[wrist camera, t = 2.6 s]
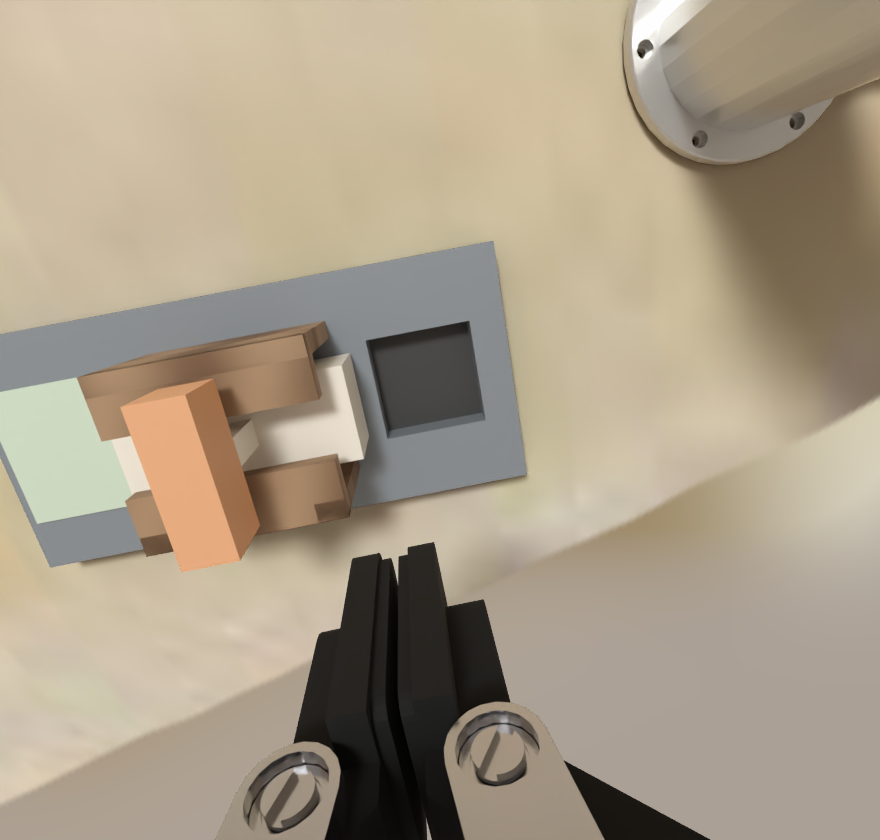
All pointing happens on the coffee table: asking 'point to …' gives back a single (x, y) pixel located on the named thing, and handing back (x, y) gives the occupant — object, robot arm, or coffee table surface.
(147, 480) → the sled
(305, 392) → the tunnel
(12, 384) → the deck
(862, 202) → the coffee table surface
